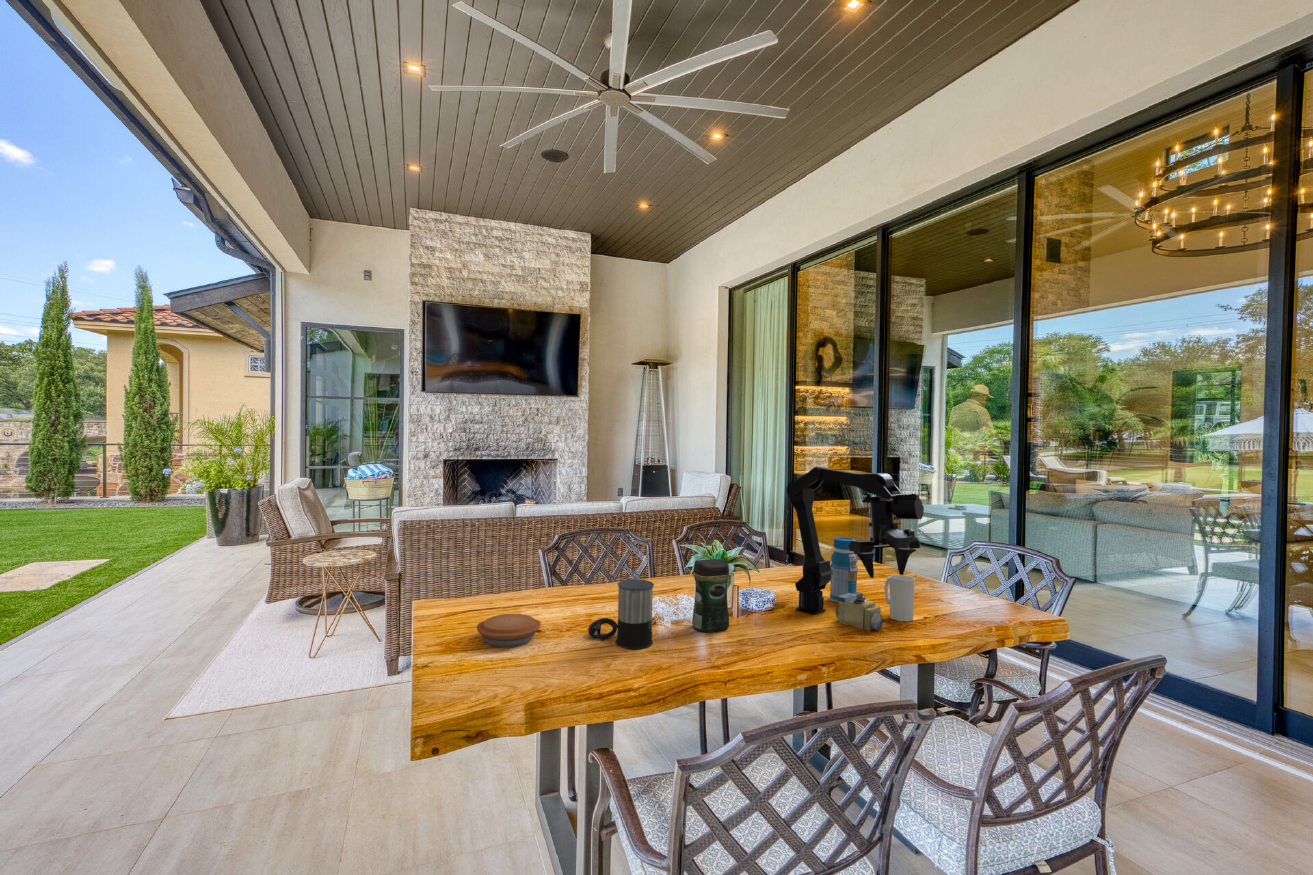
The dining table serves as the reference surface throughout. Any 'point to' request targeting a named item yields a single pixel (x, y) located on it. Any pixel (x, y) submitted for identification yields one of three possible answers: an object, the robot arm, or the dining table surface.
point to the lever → (852, 597)
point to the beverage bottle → (843, 569)
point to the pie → (508, 630)
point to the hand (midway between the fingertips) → (886, 576)
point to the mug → (900, 597)
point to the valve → (860, 615)
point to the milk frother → (630, 616)
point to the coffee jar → (711, 595)
